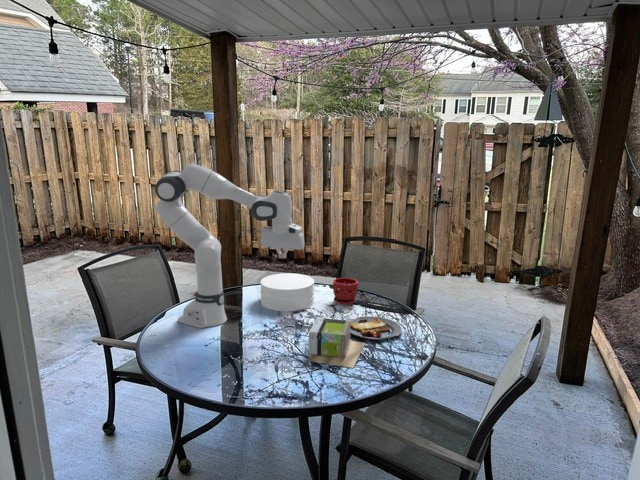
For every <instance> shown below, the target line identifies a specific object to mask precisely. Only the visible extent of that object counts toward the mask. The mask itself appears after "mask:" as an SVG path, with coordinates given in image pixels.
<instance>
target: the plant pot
mask: <svg viewBox="0 0 640 480" xmlns="http://www.w3.org/2000/svg"><path fill="white" fill-rule="evenodd" d="M332 286H333V287H332V291H333V295H334V298H333V301H334V303H336V304H338V305H341V306H351V305H354V303H356V301H357V299H356V297H357V294H358V290H359V281H358V280H357V279H355V278H351V277H350V278H349V277H338V278H335V279H333V281H332Z"/></svg>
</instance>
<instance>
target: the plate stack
mask: <svg viewBox="0 0 640 480" xmlns="http://www.w3.org/2000/svg"><path fill="white" fill-rule="evenodd" d="M260 304H261V305H262V307H263V308H266V309H269V310H271V311H276V312H277V311H278V312H295V311H302V310H305V309H309V308H310V307H312V306H313V305H314V304H315V280H314V278H313V277H311V276H308V275H305V274H302V273H288V272H287V273H284V272H283V273H276V274H270V275H268V276H265V277H263V278H262V279H261V280H260Z"/></svg>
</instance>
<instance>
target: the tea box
mask: <svg viewBox="0 0 640 480" xmlns="http://www.w3.org/2000/svg"><path fill="white" fill-rule="evenodd" d="M350 341H351V333H350V320H348V319H347V320H346V319H345V320H344V319H335V318H324V317H316V319H315V321H314V322H313V324H312V326H311V328H310V330H309V331H308V354H309V355H311V354H314V355H323V356H332V357H341V358H345V356H346V353H347V350H348V346H349V343H350Z"/></svg>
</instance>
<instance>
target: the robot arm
mask: <svg viewBox="0 0 640 480" xmlns="http://www.w3.org/2000/svg"><path fill="white" fill-rule="evenodd" d="M188 190H193V191H195V192H197V193H199V194H201V195H203V196H205V197H207V198H209V199H210V198H211V199H214V200H232V201H235V202H237V203H238V204H241V205H243V206H245V207H248V208H249V210H250V213H251V216H252V217H253V219H255V220H256V221H259V222H265V221H269V220H271V221H272V225H271V226H267V225H266V226H265V225H264V226H263V227H261V229H260V233H261V234H260V235H261V237H260V245H261V247H263V248H275V250H276V252H277V253H278V254H277V255H278V258H280V259H281V258H282V259H286V258H287V253H288V251H289V250H299V251H302V250H303V249H304V248H305V235H304V233H303V227H302V226H301V225H298V224H296V223H293V219H292V213H293V203H292V196H291V194H289V192H287V191H281V190H274V191H273V192H272V193H270V194H268V195H260V194H259V195H258V194H254V193H251V192H249V191H247V190H245V189H243V188H241V187H238V186H237V185H236V184H234V183H233V182H231V181H229V180H228V179H227V178H225V177H224V176H222V175H221V174H219V173H217V172H216V171H214V170H212V169H211V168H208V167H205V166H202V165H200V164H195V163H189V164H187V165H186V166H185V167H184V168H183V169H182V171H179V170H172V171H170V172H167V173H165V174H164V175H163V176H162V177H160V178H158V180H157V181H156V183H155V185H154V192H155V195H156V196H157V198H158V199H159V200H158V202H157V203H156V205H155V210H156V213H157V214H158V216H159V217H160V218H161V219H162V221H163V222H164V224H165V225H166V226H167V227H168V228H169V229H170V230H171V231H172V233H174V235H176V237H177V238H178V239H179V240H180V241H181V242H184V243H185V244H186V245H187V246H189V248H191V249H193V251H194V263H195V271H196V280H197V282H196V283H197V291H196V292H195V293H193V294H192V295H193V296H192V297H193V298H194V299H193V300H191V301H190V303H188V304H186V305H185V307H184V308H183V312H182V315H180V316H179V318H178V319H177V320H178V323H182V324H185V325H189V326H192V327H196V328H198V329H203V328H208V327H209V328H210V327H215V326H219V325H223V324H224V323H226V322H227V320H228V318H227V313H226V311H225V306H224V305H225V304H224V301H225V298H224V297H225V295H224V290H223V274H222V262H221V261H222V260H221V256H222V245H221V242H220V241H219V239H217V238H216V237H215V235H213V234H212V233H211V232H210V231H209V230H207V228H206V227H204V226H203V225H202V224H201V223H200V222H199V221H198V219H196V218H195V216H194V215H193V214H192V213H191V212H190V211H189V210H188V209H187V208H186V207H185V205H184V204H183V202H182V198H183V197H184V196H185V194H186V192H187V191H188ZM281 249H283V251H284V252H282V250H281Z"/></svg>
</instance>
